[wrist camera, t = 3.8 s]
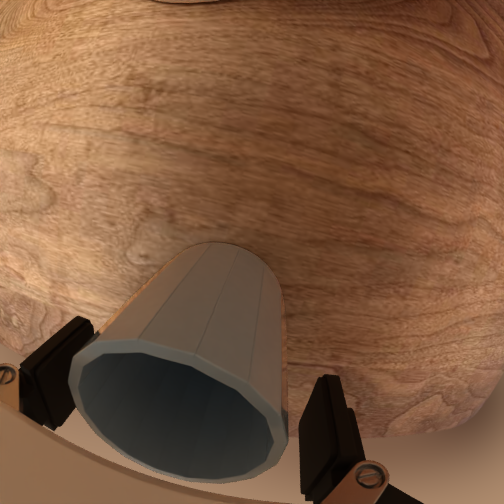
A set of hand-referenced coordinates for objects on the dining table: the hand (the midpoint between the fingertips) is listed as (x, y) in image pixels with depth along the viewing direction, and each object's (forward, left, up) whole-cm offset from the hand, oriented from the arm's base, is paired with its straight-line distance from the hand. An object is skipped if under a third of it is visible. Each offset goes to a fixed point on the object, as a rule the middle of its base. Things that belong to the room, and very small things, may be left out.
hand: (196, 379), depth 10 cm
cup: (0, -1, -5) cm, 5 cm away
